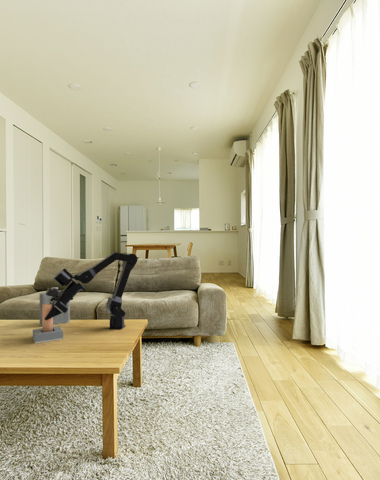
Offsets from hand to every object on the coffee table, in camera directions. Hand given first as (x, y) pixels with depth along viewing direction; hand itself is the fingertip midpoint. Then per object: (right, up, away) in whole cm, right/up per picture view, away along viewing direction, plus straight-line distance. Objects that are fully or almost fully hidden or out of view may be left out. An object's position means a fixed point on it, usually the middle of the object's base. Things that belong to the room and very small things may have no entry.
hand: (44, 318), depth 143 cm
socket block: (+1, -9, 0) cm, 9 cm away
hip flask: (-7, -10, +28) cm, 30 cm away
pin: (+1, -8, 0) cm, 8 cm away
